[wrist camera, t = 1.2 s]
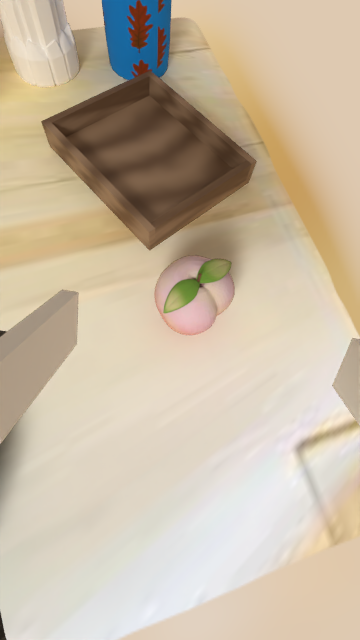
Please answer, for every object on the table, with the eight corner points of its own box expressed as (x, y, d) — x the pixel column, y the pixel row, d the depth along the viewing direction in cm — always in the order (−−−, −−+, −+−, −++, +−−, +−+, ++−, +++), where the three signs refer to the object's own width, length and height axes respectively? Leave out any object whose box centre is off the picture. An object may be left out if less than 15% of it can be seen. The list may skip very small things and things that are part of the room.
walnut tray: (49, 146, 48) (41, 121, 44) (150, 95, 54) (150, 70, 50) (149, 250, 43) (149, 232, 39) (248, 182, 49) (256, 161, 45)
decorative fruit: (186, 268, 42) (195, 220, 33) (233, 305, 41) (257, 266, 32) (138, 316, 39) (134, 278, 30) (188, 358, 38) (200, 331, 29)
